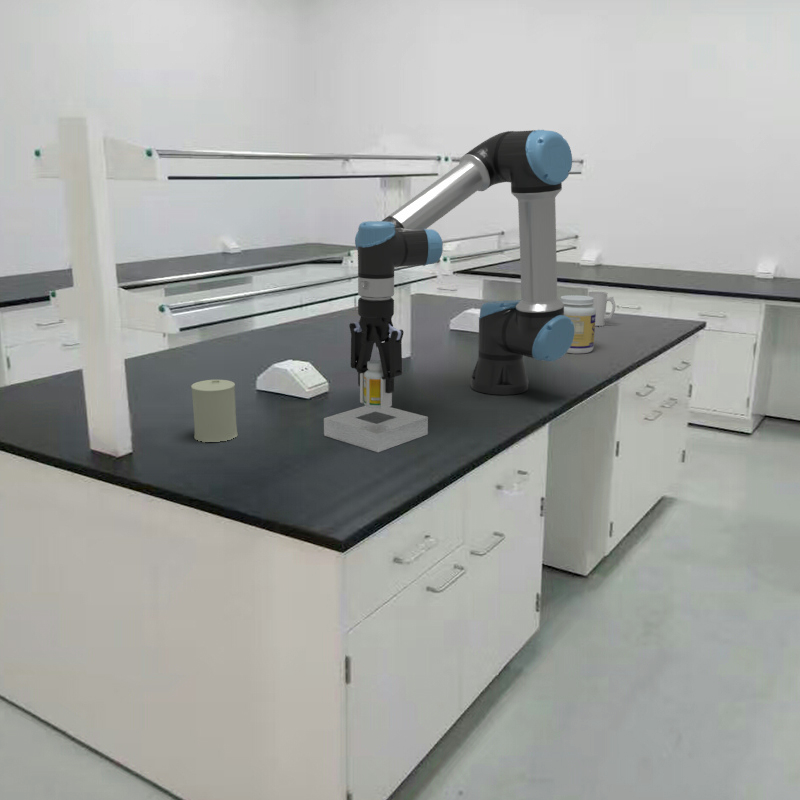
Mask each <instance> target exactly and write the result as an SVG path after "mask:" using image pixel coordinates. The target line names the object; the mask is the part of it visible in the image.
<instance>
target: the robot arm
mask: <svg viewBox="0 0 800 800" xmlns="http://www.w3.org/2000/svg"><path fill="white" fill-rule="evenodd" d="M572 155H573V154H572V150H571V147H570V145H569V143H568V141H567V139H566V138H564V136H563V135H562V134H561V133H559V132H556V131H554V130H548V129H547V130H546V129H536V130H535V129H533V130H519V131H518V130H516V131H515V130H511V131H509V130H508V131H504V132H499V133H497V134H496V135H492V136H490V137H489V138H488V139H486V140H484V141H482V142H481V143H480V144H478V145H477V146H475V147H474V148H472V149H470V150H469V151H468V152H466V153H465V154H464V155H463V156H461V157H460V158H459V163H458V164H457V165H456V166H454V167H453V168H452V169H450V170H448V171H447V173H445V174H444V175H442V176H441V177H439V178H438V179H437V180H436V181H434V182H432V183H431V184H430V185H428V186H427V187H426V188H425V189H423V190H421V191H420V192H419V193H418V194H416V195H415V196H413V197H412V198H411V199H409V200H408V201H407V202H406V203H404V204H403V205H401V206H400V207H399V208H398V209H396V210H395V211H393V212H392V213H391V214H389V215H388V216H387V217H385V218H383V219H382V220H381V221H380V220H376V221H375V220H372V221H371V220H368V221H362V222H361V223H360V224H359V225H358V230H357V232H356V234H355V238H354V244H355V245H354V246H355V248H356V251H357V295H358V296H359V298H358V299H357V314H358V316H359V317H360V318H359V320H358V321H356V322H350V323H349V326H348V327H349V331H350V335H351V336H350V367H351V369H355V370H356V372H357V382H358V383H357V384H358V387H359V403H361V404H364V373H365V372H366V371H367V370H368V368H367V362H368V361H371V358H372V353H373V349H374V345H375V347H376V348H377V349H378V354H379V360H381V365H382V370H383V375H384V377H381V408H383V409H384V408H387V407H392V406H393V402H392V401H393V393H394V391H395V378H396V377H399V376H402V375H403V356H402V355H403V351H402V349H403V348H402V345H403V344H402V340H403V336H404V330H403V329H397V328H396V327H394V324H393V321H392V320H393V319H392V318H393V316H394V313H395V300H394V298H393V297H394V296H395V268H400V267H410V266H411V267H415V266H422V267H424V266H426V265H428V266H429V265H433V264H436V263H437V262H439V260H440V259H441V258H442V255H443V251H444V249H443V246H444V243H443V239H442V237H441V235H440V234H439V232H437V230H435V229H431V228H429V227H431V226H432V225H433V224H435V223H436V222H437V221H439V220H440V219H442V218H444V216H446V215H447V214H448V213H449V212H451V211H452V210H453V209H455V208H457V206H459V205H461V203H463V202H465V200H467V199H468V198H470V197H471V196H472V195H474V194H475V193H477V192H484V191H486V190H488V188H490V187H493V186H494V185H498V184H501V183H510V191H511V194H512V196H514V197H515V198H516V200H517V203H518V205H517V206H518V208H517V209H518V231H519V232H518V233H519V234H518V237H519V258H520V260H519V264H520V287H521V288H520V290H521V291H520V292H521V299H520V300H519V299H513V300H512V299H510V300H509V299H507V300H495V301H488V302H485V303H483V304H482V305H481V306H480V309H479V317H478V358H477V361H476V363H475V366H474V369H473V372H472V375H471V376H470V377H471V378H470V388H471V389H472V390H474V391H476V392H479V393H483V394H489V395H499V396H506V395H507V396H509V395H517V394H522V393H525V392H527V391H528V390H529V377H528V374H527V370H526V367H525V363H524V357H528V358H531V359H534V360H536V361H545V362H555V361H557V360H558V361H559V360H560V359H561V358H563V357H564V356H565V355H566V354H567V353H566V352H567V350H568V349H569V348H570V346H571V344H572V342H573V339H574V332H575V329H574V324H573V322H572V321H571V319H570V318H568V317H567V316H565V315H564V304H563V302H561V301H560V298H558V267H557V265H558V263H557V228H556V227H557V223H556V222H557V218H556V217H557V216H556V197H558V195H559V194H560V192H562V190H563V188H562V186H563V185H562V184H563V182H564V181H566V180H567V179H568V177H569V174H570V173H571V170H572V167H573V156H572ZM428 228H429V229H428Z"/></svg>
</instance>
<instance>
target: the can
mask: <svg viewBox="0 0 800 800" xmlns="http://www.w3.org/2000/svg"><path fill="white" fill-rule="evenodd" d="M190 387H191V395H192V396H191V397H192V398H191V399H192V406H193V407H192V410H193V412H192V413H193V423H194V426H193V427H194V428H193V429H194V435H193V437H194V440H195V441H197V440H198V442H200V441H202V442H201V443H205V442H220V441H226V442H228V441H227V440H230V441H232V440H234V439H236V438H237V437H238V434H239V433H238V427H237V412H236V411H237V410H236V384H235V382H233V381H232V380H227V379H207V380H206V379H205V380H199V381H197V382H194V383H193V384H191V385H190ZM235 437H236V438H235ZM233 438H234V439H233ZM231 439H232V440H231ZM220 443H221V442H220Z"/></svg>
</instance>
